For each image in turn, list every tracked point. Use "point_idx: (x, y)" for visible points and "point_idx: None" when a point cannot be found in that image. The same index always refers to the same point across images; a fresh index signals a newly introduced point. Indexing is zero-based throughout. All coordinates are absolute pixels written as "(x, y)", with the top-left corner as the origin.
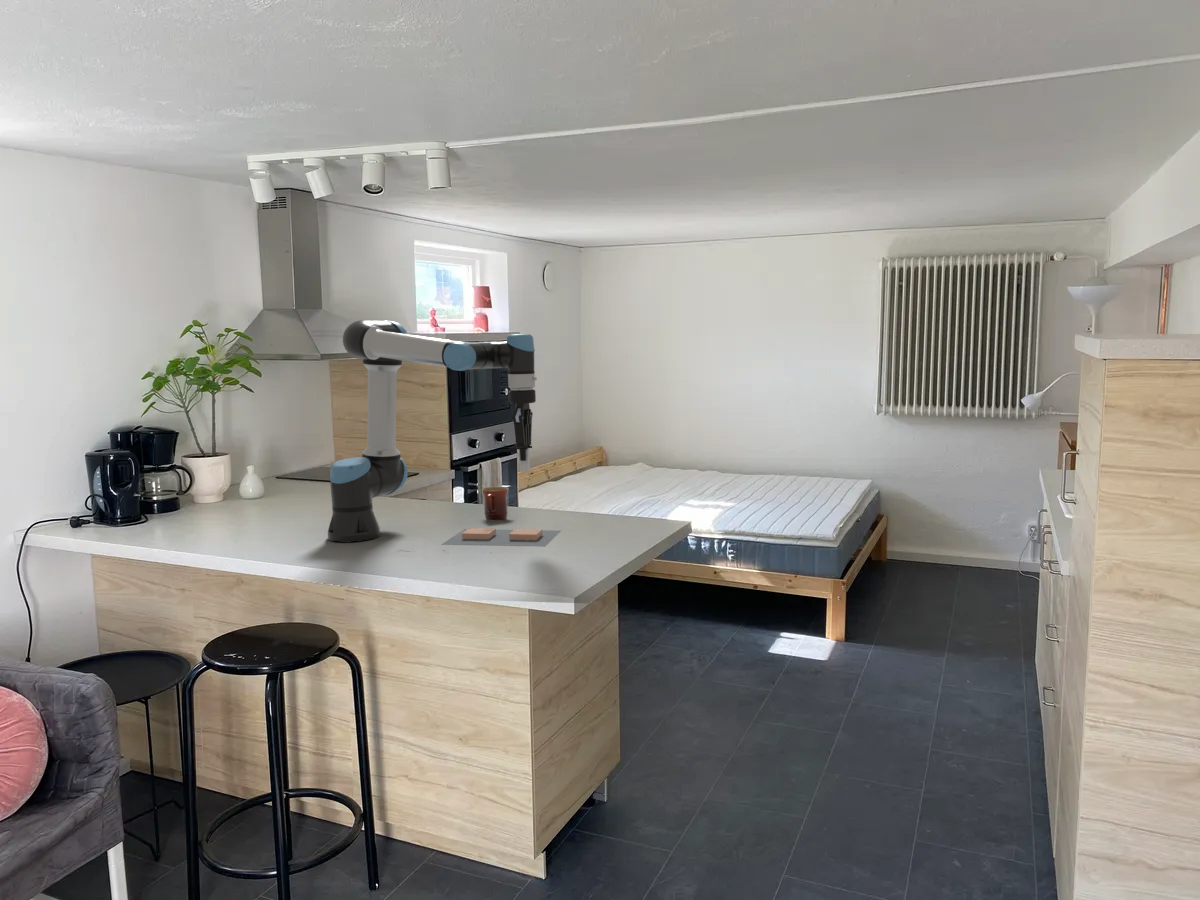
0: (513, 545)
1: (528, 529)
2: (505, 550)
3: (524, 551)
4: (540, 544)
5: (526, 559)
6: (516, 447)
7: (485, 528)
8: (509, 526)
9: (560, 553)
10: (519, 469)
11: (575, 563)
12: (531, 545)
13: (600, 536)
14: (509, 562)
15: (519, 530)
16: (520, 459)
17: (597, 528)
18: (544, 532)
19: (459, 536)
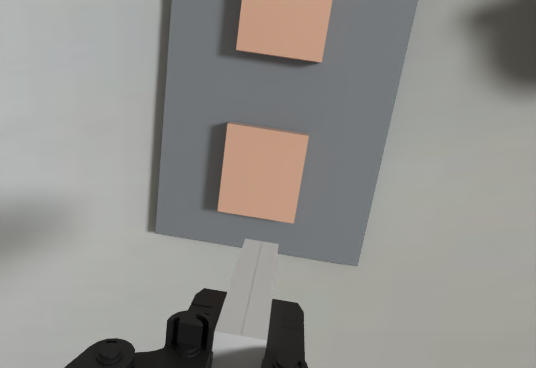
0: (163, 142)
1: (295, 180)
2: (161, 117)
3: (150, 173)
4: (176, 219)
5: (64, 187)
6: (167, 329)
7: (328, 20)
8: (519, 82)
9: (130, 267)
10: (243, 245)
11: (37, 302)
12: (164, 195)
13: (318, 359)
14: (30, 146)
15: (281, 152)
16: (198, 294)
17: (425, 354)
18: (335, 219)
19: None
